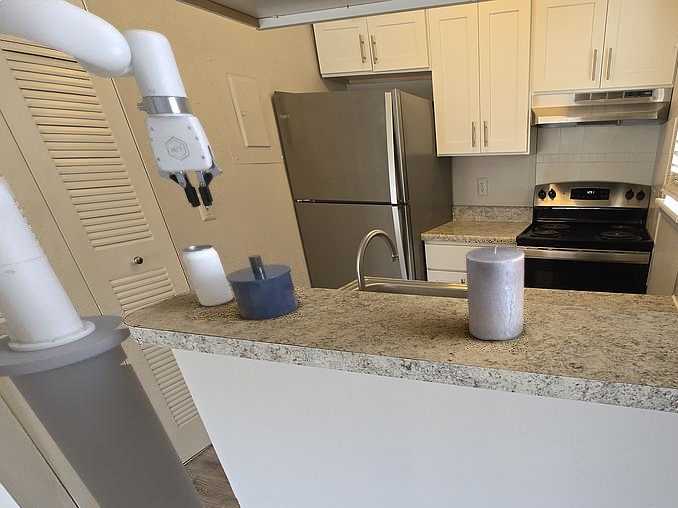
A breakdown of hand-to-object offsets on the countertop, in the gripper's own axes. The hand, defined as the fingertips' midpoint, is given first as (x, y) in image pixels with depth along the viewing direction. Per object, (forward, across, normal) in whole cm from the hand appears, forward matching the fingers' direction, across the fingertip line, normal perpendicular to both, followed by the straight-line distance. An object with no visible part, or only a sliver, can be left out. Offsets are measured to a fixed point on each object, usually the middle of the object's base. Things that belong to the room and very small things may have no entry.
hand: (202, 205), depth 90 cm
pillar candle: (+19, +56, -43) cm, 73 cm away
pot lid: (+12, +13, -19) cm, 26 cm away
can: (+19, 0, -10) cm, 22 cm away
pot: (+19, +13, -19) cm, 30 cm away
